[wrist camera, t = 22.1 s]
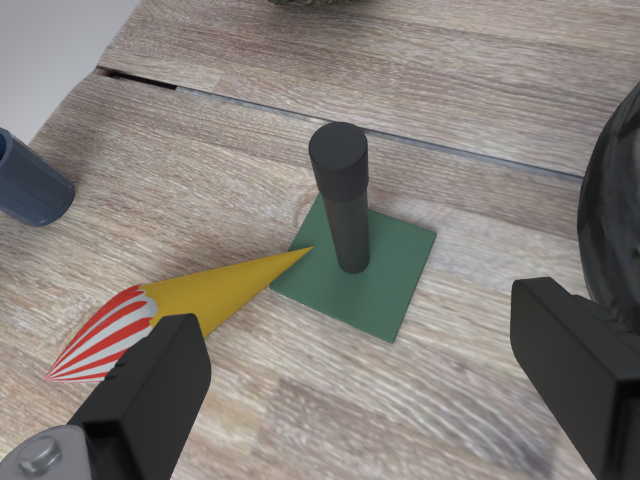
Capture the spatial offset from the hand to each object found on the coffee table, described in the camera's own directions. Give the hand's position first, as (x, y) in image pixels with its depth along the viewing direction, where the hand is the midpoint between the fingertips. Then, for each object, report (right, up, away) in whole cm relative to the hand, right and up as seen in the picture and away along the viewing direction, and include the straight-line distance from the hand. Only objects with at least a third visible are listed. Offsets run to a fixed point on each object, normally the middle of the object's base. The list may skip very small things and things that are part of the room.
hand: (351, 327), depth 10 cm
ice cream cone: (-9, -4, +20) cm, 22 cm away
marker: (+2, +1, +20) cm, 20 cm away
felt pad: (+2, +1, +20) cm, 20 cm away
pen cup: (-26, +6, +27) cm, 38 cm away
